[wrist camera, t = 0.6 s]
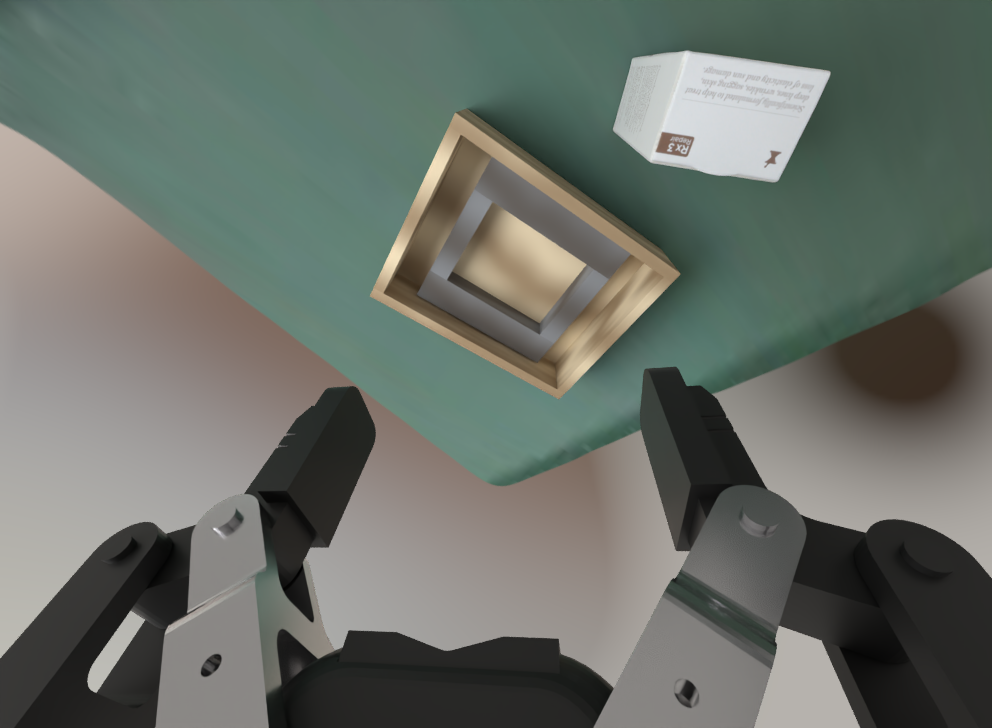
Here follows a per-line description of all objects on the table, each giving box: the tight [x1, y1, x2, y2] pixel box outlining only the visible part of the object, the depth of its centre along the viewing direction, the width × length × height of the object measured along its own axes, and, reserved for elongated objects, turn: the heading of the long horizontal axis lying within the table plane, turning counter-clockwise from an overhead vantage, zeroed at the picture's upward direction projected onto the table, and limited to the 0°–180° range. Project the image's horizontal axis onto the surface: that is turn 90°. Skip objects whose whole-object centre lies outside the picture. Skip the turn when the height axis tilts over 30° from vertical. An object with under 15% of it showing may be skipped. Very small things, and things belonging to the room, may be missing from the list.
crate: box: [370, 109, 680, 399], centre depth 31 cm, size 14×18×5 cm
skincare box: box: [613, 50, 831, 182], centre depth 21 cm, size 6×4×12 cm
